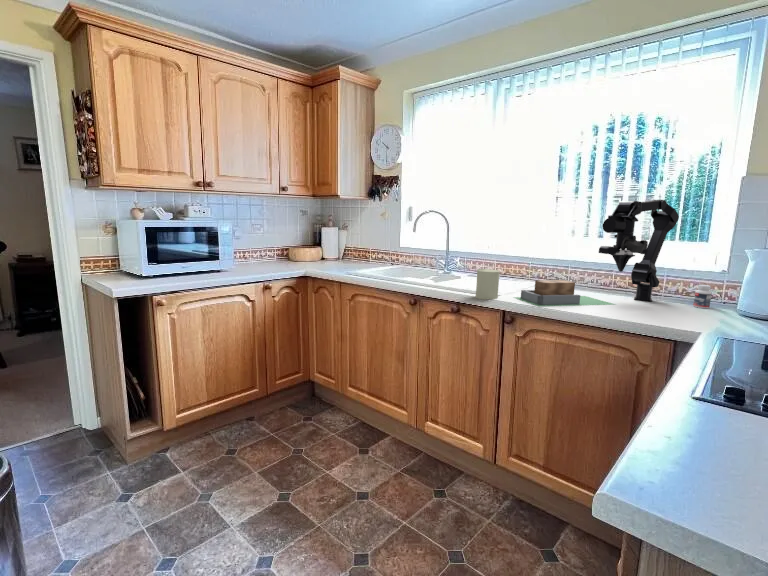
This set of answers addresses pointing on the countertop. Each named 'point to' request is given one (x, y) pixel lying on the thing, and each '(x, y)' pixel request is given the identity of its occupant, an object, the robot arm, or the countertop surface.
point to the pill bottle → (702, 296)
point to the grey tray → (549, 298)
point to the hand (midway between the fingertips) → (620, 271)
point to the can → (487, 284)
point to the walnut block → (554, 287)
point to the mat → (583, 301)
